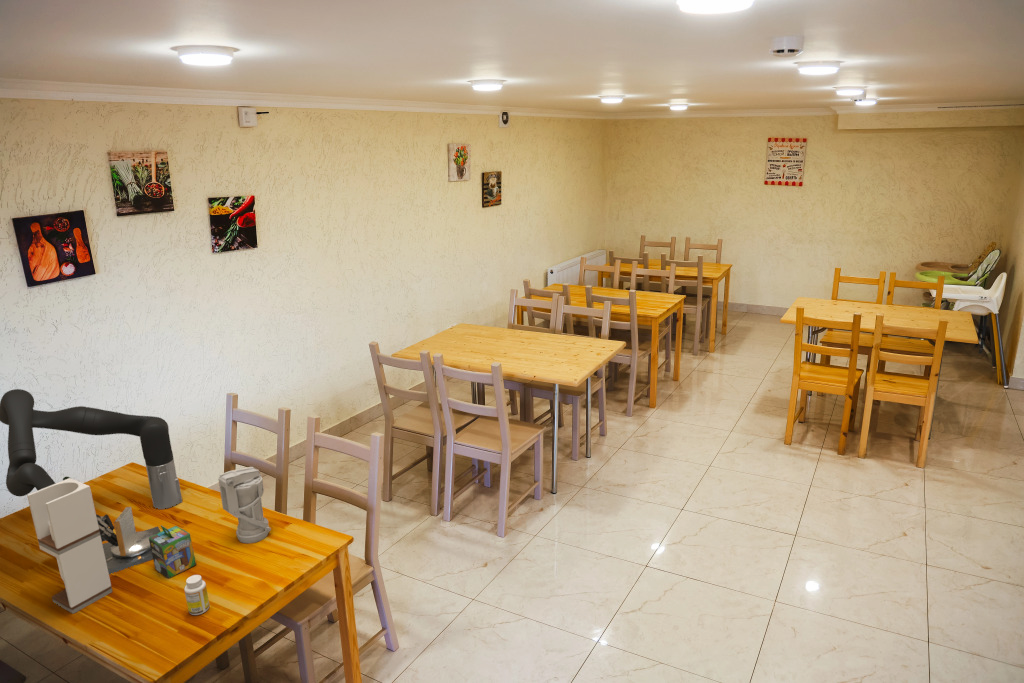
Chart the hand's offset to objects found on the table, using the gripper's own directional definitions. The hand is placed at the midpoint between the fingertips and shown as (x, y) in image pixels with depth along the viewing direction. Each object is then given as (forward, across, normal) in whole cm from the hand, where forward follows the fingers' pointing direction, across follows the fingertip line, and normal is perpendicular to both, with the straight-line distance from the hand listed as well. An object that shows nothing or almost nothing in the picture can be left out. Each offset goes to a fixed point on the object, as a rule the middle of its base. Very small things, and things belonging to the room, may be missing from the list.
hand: (119, 543), depth 218 cm
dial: (+4, -5, -2) cm, 7 cm away
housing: (+6, -6, -4) cm, 9 cm away
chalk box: (+17, +5, +8) cm, 20 cm away
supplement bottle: (+28, +28, +18) cm, 44 cm away
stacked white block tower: (+2, +17, -8) cm, 19 cm away
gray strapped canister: (+31, -9, +22) cm, 39 cm away
